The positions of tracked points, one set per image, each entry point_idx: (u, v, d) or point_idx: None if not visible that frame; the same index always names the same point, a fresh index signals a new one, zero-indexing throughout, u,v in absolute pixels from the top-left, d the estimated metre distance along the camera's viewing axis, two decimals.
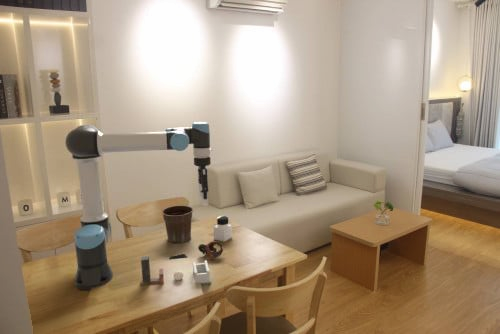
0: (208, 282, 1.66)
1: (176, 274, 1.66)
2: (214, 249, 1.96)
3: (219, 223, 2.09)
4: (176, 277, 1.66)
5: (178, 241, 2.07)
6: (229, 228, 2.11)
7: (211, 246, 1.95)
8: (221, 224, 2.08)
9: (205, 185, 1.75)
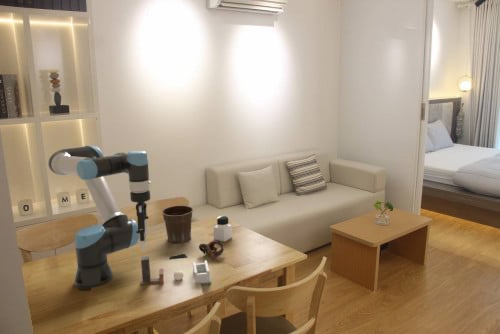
0: (208, 282, 1.66)
1: (176, 274, 1.66)
2: (214, 249, 1.97)
3: (219, 223, 2.09)
4: (176, 277, 1.66)
5: (178, 241, 2.07)
6: (229, 228, 2.11)
7: (212, 246, 1.96)
8: (221, 224, 2.08)
9: (141, 225, 1.50)
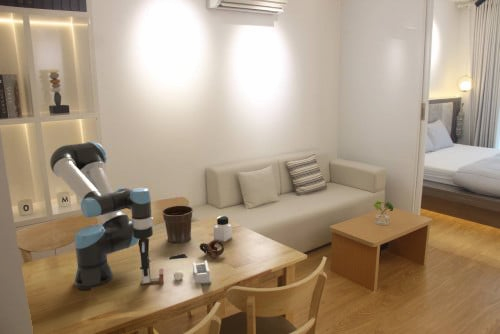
0: (208, 282, 1.66)
1: (176, 274, 1.66)
2: (215, 248, 1.97)
3: (219, 223, 2.09)
4: (176, 277, 1.66)
5: (178, 241, 2.07)
6: (229, 228, 2.11)
7: (212, 245, 1.96)
8: (221, 224, 2.08)
9: (144, 263, 1.58)
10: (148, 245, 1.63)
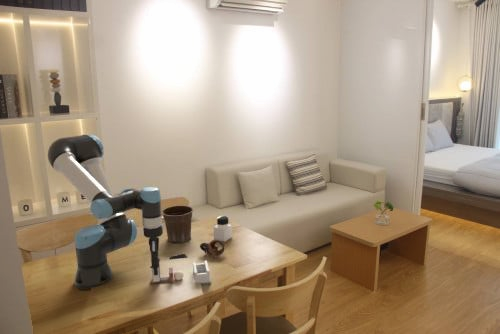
0: (208, 282, 1.66)
1: (176, 274, 1.66)
2: (215, 248, 1.98)
3: (219, 223, 2.09)
4: (176, 277, 1.66)
5: (178, 241, 2.07)
6: (229, 228, 2.11)
7: (212, 245, 1.97)
8: (221, 224, 2.08)
9: (155, 262, 1.58)
10: (158, 244, 1.64)
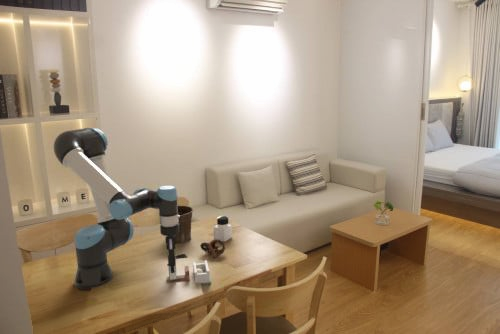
0: (208, 282, 1.66)
1: None
2: (216, 247, 1.98)
3: (219, 223, 2.09)
4: None
5: (178, 241, 2.07)
6: (229, 228, 2.11)
7: (213, 244, 1.97)
8: (221, 224, 2.08)
9: (172, 260, 1.60)
10: None
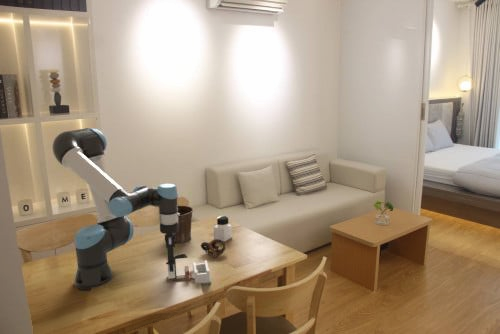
0: (208, 282, 1.66)
1: None
2: (216, 247, 1.99)
3: (219, 223, 2.09)
4: None
5: (178, 241, 2.07)
6: (229, 228, 2.11)
7: (213, 244, 1.98)
8: (221, 224, 2.08)
9: (171, 257, 1.56)
10: None
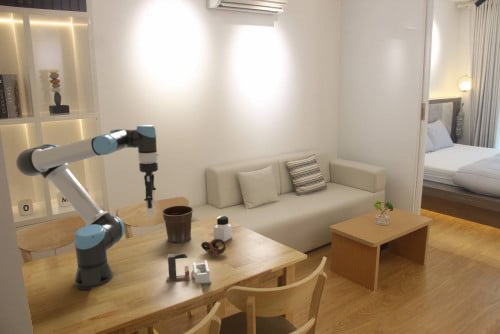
0: (208, 282, 1.66)
1: None
2: (216, 246, 1.99)
3: (219, 223, 2.09)
4: None
5: (178, 241, 2.07)
6: (229, 228, 2.11)
7: (213, 243, 1.98)
8: (221, 224, 2.08)
9: (149, 193, 1.62)
10: (153, 179, 1.72)
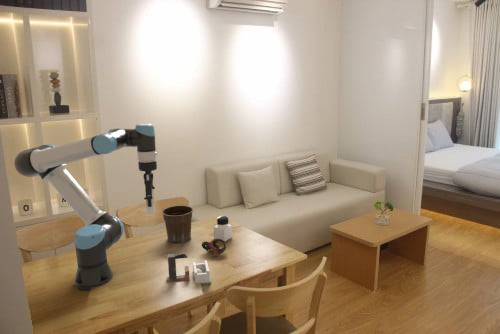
0: (208, 282, 1.66)
1: None
2: (217, 246, 2.00)
3: (219, 223, 2.09)
4: None
5: (178, 241, 2.07)
6: (229, 228, 2.11)
7: (214, 243, 1.98)
8: (221, 224, 2.08)
9: (148, 192, 1.62)
10: None
